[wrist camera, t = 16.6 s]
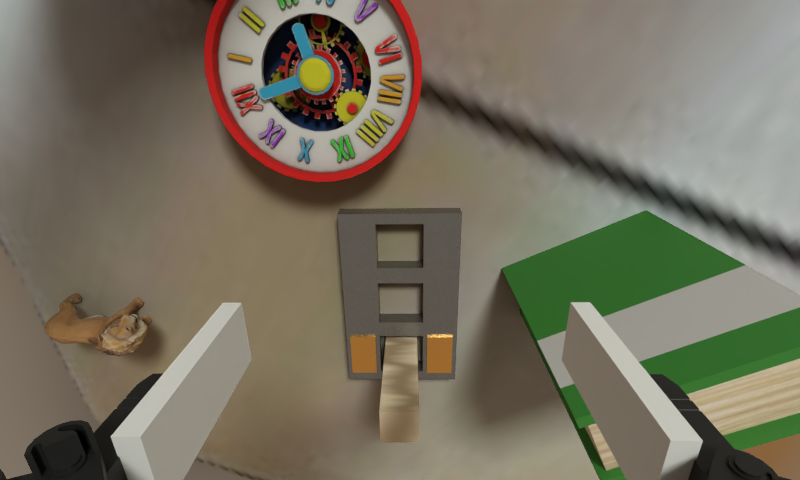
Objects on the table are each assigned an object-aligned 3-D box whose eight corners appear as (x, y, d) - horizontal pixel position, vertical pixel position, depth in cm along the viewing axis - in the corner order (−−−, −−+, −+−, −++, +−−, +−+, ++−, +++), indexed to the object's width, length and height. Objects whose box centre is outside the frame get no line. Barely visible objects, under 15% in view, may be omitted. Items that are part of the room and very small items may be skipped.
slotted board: (351, 368, 56) (349, 380, 54) (340, 208, 48) (336, 215, 46) (453, 369, 56) (455, 380, 54) (459, 208, 47) (462, 214, 45)
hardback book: (521, 315, 53) (604, 489, 30) (501, 268, 50) (575, 419, 28) (660, 263, 49) (866, 413, 27) (646, 210, 47) (859, 327, 25)
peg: (387, 356, 55) (380, 442, 42) (386, 331, 54) (379, 412, 41) (416, 356, 55) (419, 442, 42) (416, 331, 54) (419, 412, 41)
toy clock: (447, 146, 39) (260, 206, 42) (443, 138, 45) (277, 192, 48) (381, -95, 33) (163, -5, 35) (385, -70, 38) (196, 6, 41)
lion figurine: (167, 287, 52) (120, 327, 44) (178, 323, 54) (136, 367, 46) (57, 293, 53) (-9, 333, 45) (72, 328, 55) (11, 373, 47)
